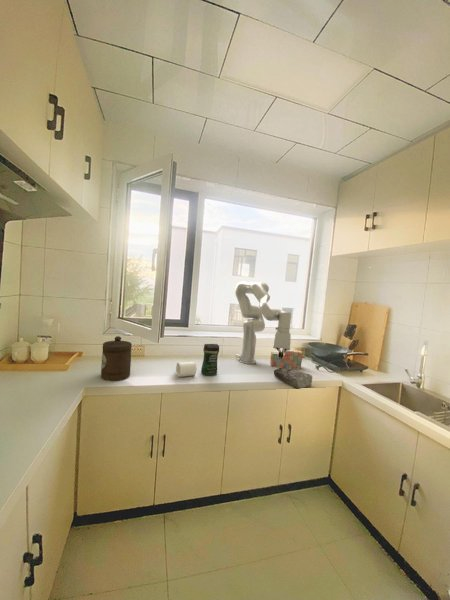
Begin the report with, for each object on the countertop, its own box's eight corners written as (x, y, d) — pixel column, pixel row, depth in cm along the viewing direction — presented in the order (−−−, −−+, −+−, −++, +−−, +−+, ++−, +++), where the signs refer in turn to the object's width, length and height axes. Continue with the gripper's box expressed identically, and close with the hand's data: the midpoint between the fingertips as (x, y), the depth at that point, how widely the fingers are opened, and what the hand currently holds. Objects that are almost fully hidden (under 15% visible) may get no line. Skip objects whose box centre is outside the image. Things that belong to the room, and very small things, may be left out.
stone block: (287, 363, 168) (313, 374, 152) (287, 374, 169) (313, 385, 153) (273, 369, 161) (298, 380, 144) (273, 379, 162) (298, 392, 146)
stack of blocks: (271, 366, 184) (272, 349, 183) (269, 363, 190) (271, 347, 190) (300, 369, 184) (302, 352, 183) (298, 366, 190) (300, 350, 189)
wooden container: (105, 370, 148) (108, 333, 146) (132, 371, 150) (135, 334, 148) (96, 380, 133) (99, 338, 131) (126, 381, 135) (129, 340, 133)
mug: (196, 377, 150) (197, 364, 149) (179, 379, 145) (180, 365, 145) (189, 370, 160) (190, 357, 160) (173, 371, 156) (174, 358, 155)
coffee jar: (203, 376, 152) (206, 345, 151) (199, 371, 160) (202, 342, 158) (218, 375, 156) (221, 345, 155) (214, 370, 163) (216, 342, 162)
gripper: (271, 329, 164) (268, 357, 165) (295, 332, 160) (292, 361, 162) (272, 327, 171) (269, 354, 172) (295, 330, 168) (292, 358, 169)
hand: (280, 357), depth 167 cm, fingers closed
